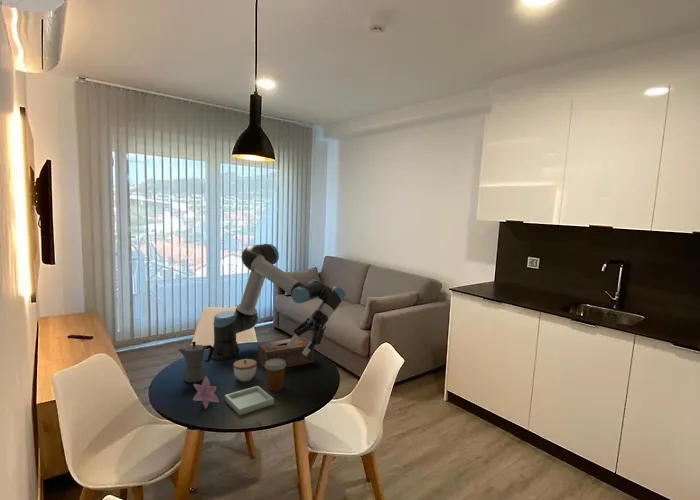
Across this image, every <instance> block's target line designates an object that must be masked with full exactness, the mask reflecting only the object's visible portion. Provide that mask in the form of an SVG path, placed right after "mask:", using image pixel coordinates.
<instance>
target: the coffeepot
mask: <svg viewBox="0 0 700 500" xmlns="http://www.w3.org/2000/svg"><path fill="white" fill-rule="evenodd" d="M196 343H197V342H196V341H192V342H191V345H188V346H187V345H186V346H185V347H182V348H180V349H178V352H180V354H182V356H183V357H184V361H185V363H186V367H185V372H184V376H183V377H184V378H183V379H184V381H185V382H186V383H197V382H200V381H204V378H205V376H206V374H205V369H204V365H203V360H204V353H205V351H206V350H209V353H208V355H207V356H208V357H207V359H206V360H204V362H205V363H210V361H211V360H212V358H211V357H212V354H213V351H214V348H213V345H211V344H206V345H202V344H196Z"/></svg>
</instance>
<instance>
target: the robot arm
mask: <svg viewBox="0 0 700 500" xmlns="http://www.w3.org/2000/svg"><path fill="white" fill-rule="evenodd" d="M279 258H280V253H279V251H278V249H277V246H275V245H274V244H272V243H271V244H270V243H263V244H251V245H249V246H247V247H246V248H244V249H243V251H242V253H241V262H242V264H243V266H245V268H247V269H248V270H249V271H250V273H249V275H248V279H247V283H246V286H245V288H244V291H243V295H242V298H241V302H240V303H239V304H238V305H237V306H236V308H235V311H232V310H227V311H221V312H219V313H217V314H216V315H214V317H213V345H212V347H213V348H214V351H213V354H212V357H211V359H212V360H217V361H228V360H232V359H235V358H237V357H239V356H240V352H241V351H240V350H241V349H240V347H239V345H238V344H239V343H238V341H237V334H238V333H241V332H242V333H243V332H245V331H248V330H251V329H253V328H254V327H255V326H256V325H257V323H258V322H259V316H258V310H257V308H256V306H257V304H258V301H259V298H260V295H261V292H262V288H263V286H264V282H265V279H267V280H268V281H270V282H272V283H273V284H274V285H276V286H277V287H279V288H281V289H282V290H283V291H285V292H286V293H288V294H290V295H291V296H290V297H291V299H292V300H293V302H295V304H303V303H306V302H309V301H313V300H315V299H319V300H321V301H322V302H321V303H320V305H318V308H317V309H316V310H315V311H314V313H313V314H312V318H311V319H310V318H309V317H307V318H306V319H305V320H304V321H303V322H302V323H300V324H299V326H296V328H294V330H293V333H294V334H293V336H292V337H291V338H290V339H291V340H290V341H289V342H288V344H287V345H288V346H289V347H290V348H292V346H293V345H294V344H295V342H296V341H297V340H298V338H299V337H300V336H301V335H303V334H305V333H306V332H308V331H312V337H311V338H312V339H311V341H310V340H309V341H310V342H309V344H308V345H307V347H306V348H305V349H304V351H303V352H302V353H303V354H304V355H305V356H307V355H308V353H309V352H310V351H311V350H312V349H313V347H314V348H315V347H316V346H317V345H318V346H319V345H321V342H322V340H323V339H322V338H323V336H324V332H325V330H326V329H327V326H326V324H327V322H328V321H329V319H330V318H331V316H332V315H333V314H334V313H335V312H336V310H337V308H338V307H339V306H340V305H341V303H342V302H343V300H344V298H345V297H346V295H347V294H346V292H345V290H344V289H343V288H342V287H340V286H338V285H334V286H333V287H332V288H331V287H330V286H328V285H326V284H324V283H322V282H321V281H319V280H317V279H315V278H313V279H310V280H308V282H307V284H306V285H305V284H304V283H302V282H300V281H299V280H298V279H295V278H294V277H292V275H290V274H288V273H286V272H285V271H284V270H282V269H280V268H279V267H277V266H276V265H275V264H276V263H278V262H279Z"/></svg>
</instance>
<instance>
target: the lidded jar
mask: <svg viewBox="0 0 700 500" xmlns="http://www.w3.org/2000/svg"><path fill="white" fill-rule="evenodd" d="M257 362H258V361H257V360H255V359H251V358H242V359H239V360H235V361H234V363H233V373H234V377H236V379H237V380H238V381H240V382H249V381H251V380H252V379H253V378H254V377H255V376H256V373H257V365H258V363H257Z"/></svg>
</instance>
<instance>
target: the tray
mask: <svg viewBox="0 0 700 500" xmlns="http://www.w3.org/2000/svg"><path fill="white" fill-rule="evenodd" d="M224 401H225V403H226V404H227V405H228V406H229V407H230V408H231V409H233V411H235V413H236V414H237V415H238V416H242V415H245V414H248V413H249V414H250V413H252V412H254V411H258V410H260V409H263V408H264V409H265V408H266V407H270V406H272V405H274V404H275V398H274V397H273V396H272V395H271V394H269V393H268V392H266V391H265V390H264V389H263V388H261V387H260V385H255V386H253V387H248V388H244V389H240V390H238V391H234V392H231V393H227V394H224Z"/></svg>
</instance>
